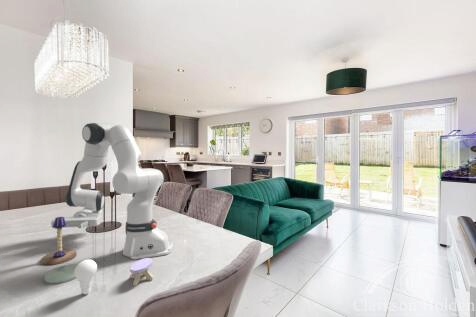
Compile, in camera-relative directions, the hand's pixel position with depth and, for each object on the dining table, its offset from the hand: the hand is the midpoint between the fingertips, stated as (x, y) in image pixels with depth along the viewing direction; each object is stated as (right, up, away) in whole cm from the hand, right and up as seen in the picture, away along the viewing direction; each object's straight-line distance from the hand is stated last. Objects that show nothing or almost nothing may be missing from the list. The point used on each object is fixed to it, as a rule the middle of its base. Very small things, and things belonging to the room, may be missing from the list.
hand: (68, 226), depth 103 cm
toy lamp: (+1, -11, -7) cm, 13 cm away
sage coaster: (+14, -12, -20) cm, 27 cm away
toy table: (+43, -13, -22) cm, 50 cm away
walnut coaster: (+1, -12, -7) cm, 14 cm away
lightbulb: (+29, -13, -31) cm, 44 cm away
